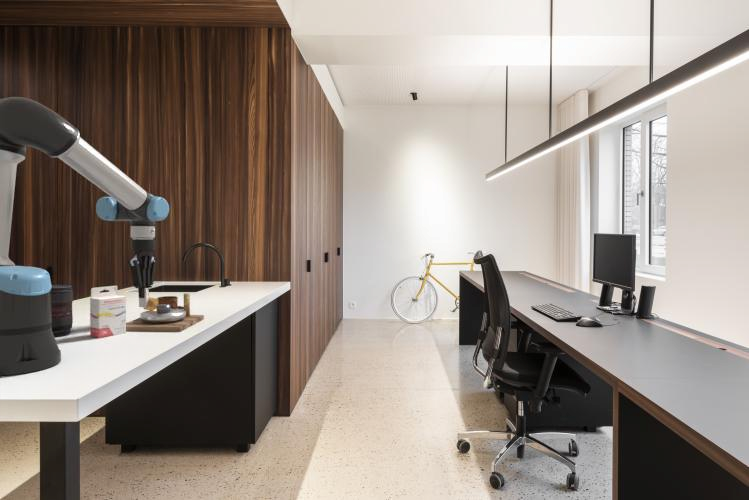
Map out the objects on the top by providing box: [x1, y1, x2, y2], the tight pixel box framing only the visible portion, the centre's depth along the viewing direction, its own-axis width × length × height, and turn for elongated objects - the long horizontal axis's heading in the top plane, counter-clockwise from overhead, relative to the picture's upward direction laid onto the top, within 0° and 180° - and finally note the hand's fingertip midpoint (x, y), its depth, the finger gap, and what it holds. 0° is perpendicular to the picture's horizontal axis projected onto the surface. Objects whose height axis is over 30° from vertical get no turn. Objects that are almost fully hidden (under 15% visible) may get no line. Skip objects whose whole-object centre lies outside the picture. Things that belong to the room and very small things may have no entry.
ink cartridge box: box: [89, 285, 127, 339], centre depth 140 cm, size 9×5×15 cm, turn 150°
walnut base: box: [126, 292, 205, 333], centre depth 155 cm, size 20×20×10 cm
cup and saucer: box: [156, 295, 184, 310], centre depth 176 cm, size 12×12×6 cm
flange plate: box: [140, 296, 186, 322], centre depth 156 cm, size 18×14×6 cm
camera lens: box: [51, 284, 74, 338], centre depth 139 cm, size 8×8×15 cm
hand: (143, 306), depth 158 cm, fingers closed
